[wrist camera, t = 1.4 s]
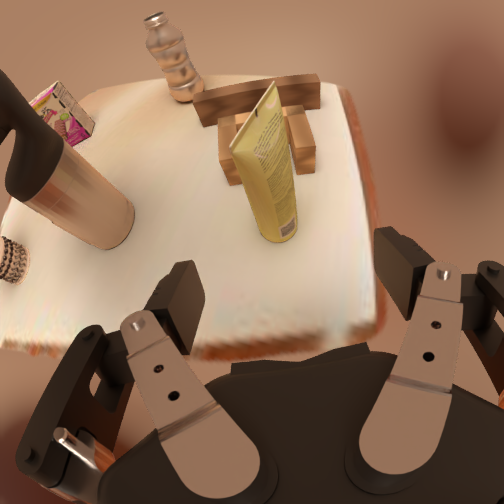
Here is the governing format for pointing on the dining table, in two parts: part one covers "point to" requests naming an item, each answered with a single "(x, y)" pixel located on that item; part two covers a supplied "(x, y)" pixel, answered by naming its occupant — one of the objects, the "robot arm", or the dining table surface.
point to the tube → (267, 168)
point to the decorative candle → (13, 261)
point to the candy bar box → (63, 114)
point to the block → (296, 137)
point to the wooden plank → (256, 96)
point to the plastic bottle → (172, 57)
